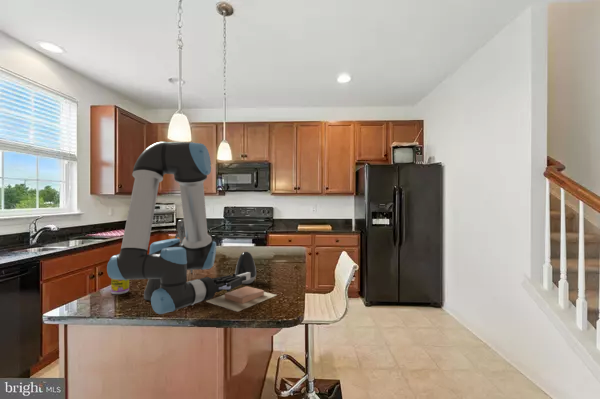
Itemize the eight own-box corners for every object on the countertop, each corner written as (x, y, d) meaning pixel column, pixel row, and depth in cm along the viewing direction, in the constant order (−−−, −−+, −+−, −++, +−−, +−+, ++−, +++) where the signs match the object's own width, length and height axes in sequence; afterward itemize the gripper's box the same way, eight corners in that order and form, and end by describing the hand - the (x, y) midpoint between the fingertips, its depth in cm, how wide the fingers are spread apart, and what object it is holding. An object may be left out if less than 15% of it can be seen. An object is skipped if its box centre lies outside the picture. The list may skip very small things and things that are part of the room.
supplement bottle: (107, 294, 118) (107, 264, 118) (118, 289, 125) (118, 260, 125) (122, 294, 118) (123, 264, 118) (132, 290, 125) (133, 261, 125)
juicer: (192, 273, 154) (193, 219, 155) (182, 278, 143) (182, 220, 144) (175, 272, 155) (176, 218, 156) (164, 278, 144) (164, 220, 145)
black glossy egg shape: (255, 279, 143) (255, 249, 143) (256, 285, 133) (257, 253, 133) (235, 280, 141) (235, 250, 141) (234, 286, 131) (235, 253, 131)
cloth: (237, 313, 98) (237, 311, 98) (205, 303, 109) (205, 301, 109) (277, 296, 117) (277, 294, 117) (246, 289, 127) (246, 287, 127)
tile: (242, 298, 106) (263, 290, 116) (224, 293, 112) (246, 286, 121) (242, 304, 106) (263, 295, 116) (224, 298, 112) (246, 291, 121)
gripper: (188, 297, 100) (238, 282, 119) (212, 305, 93) (260, 287, 112) (188, 276, 100) (238, 264, 120) (212, 282, 93) (260, 268, 112)
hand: (249, 275), depth 116 cm, fingers closed
